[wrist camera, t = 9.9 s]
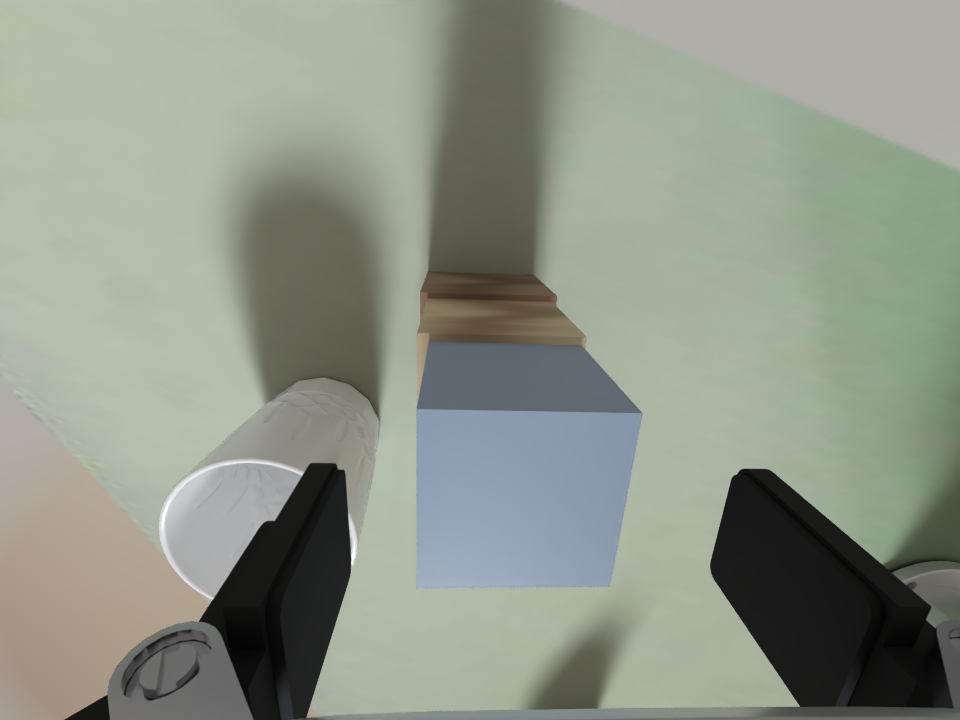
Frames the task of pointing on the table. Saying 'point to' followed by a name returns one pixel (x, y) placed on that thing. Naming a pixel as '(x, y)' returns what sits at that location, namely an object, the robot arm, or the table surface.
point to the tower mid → (493, 324)
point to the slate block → (520, 466)
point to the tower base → (484, 287)
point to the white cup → (267, 477)
